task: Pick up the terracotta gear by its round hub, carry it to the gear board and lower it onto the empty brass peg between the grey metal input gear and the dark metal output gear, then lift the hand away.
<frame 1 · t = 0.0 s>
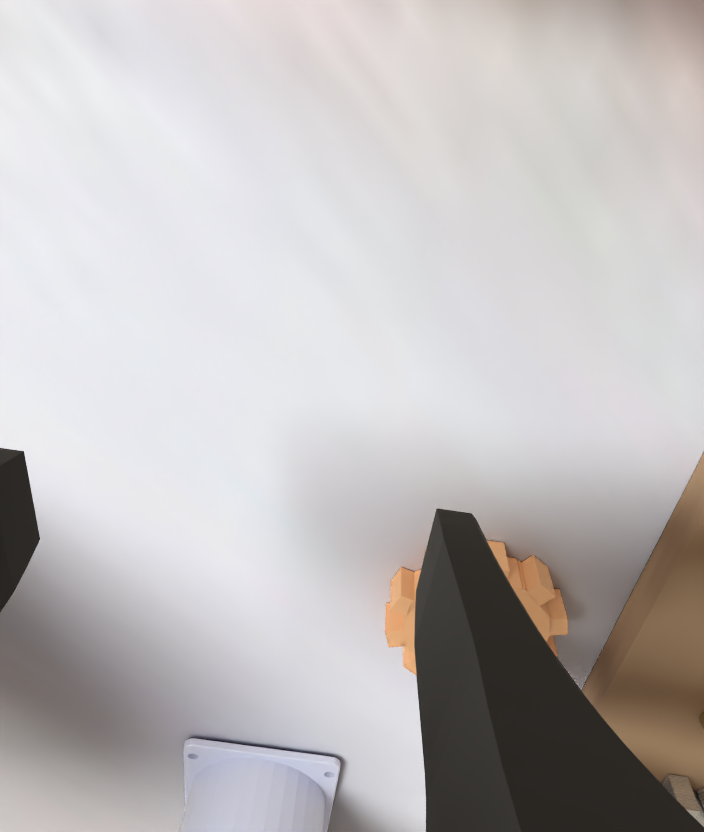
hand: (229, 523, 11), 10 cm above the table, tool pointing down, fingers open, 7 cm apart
loose gear: (471, 603, 26), on the table
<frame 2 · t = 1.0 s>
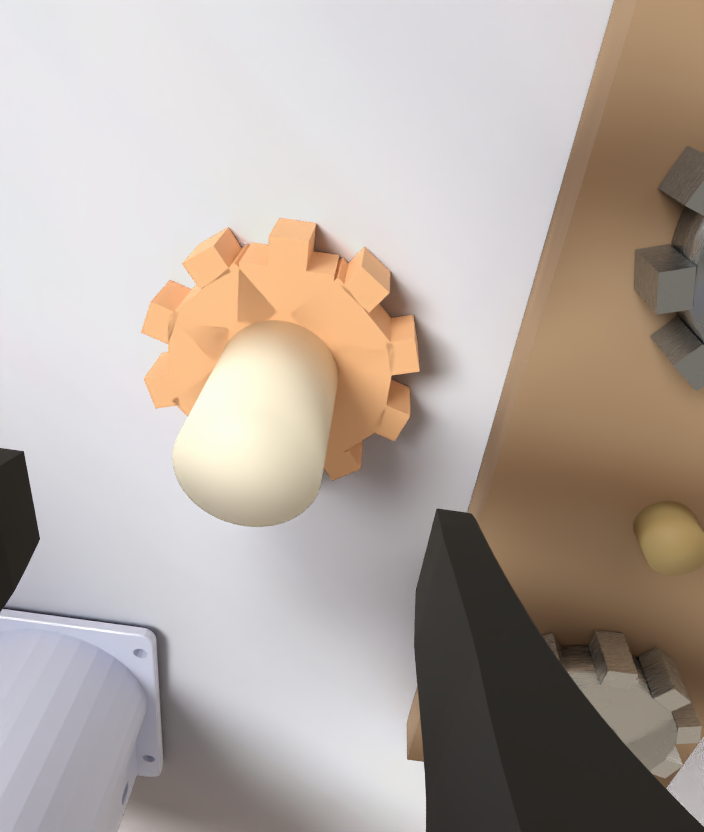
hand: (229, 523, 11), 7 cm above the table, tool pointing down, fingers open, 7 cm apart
gear board: (645, 490, 19), on the table
loose gear: (287, 349, 17), on the table
input gear: (586, 740, 21), point 3 cm above the table, hinge at 0.0°, touching gear board
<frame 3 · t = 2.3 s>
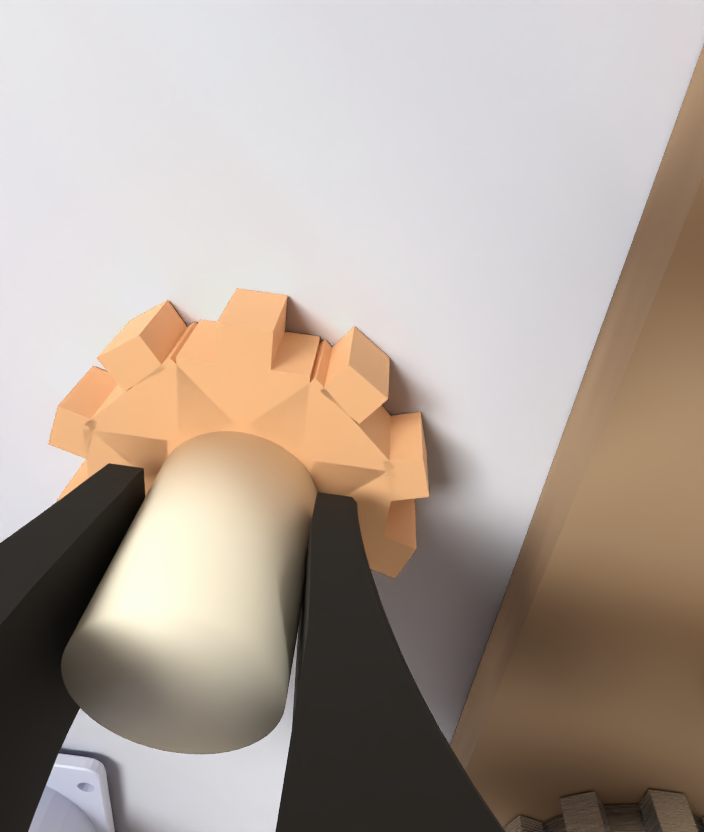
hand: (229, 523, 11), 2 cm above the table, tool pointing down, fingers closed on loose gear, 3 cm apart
loose gear: (253, 452, 13), on the table, touching gripper
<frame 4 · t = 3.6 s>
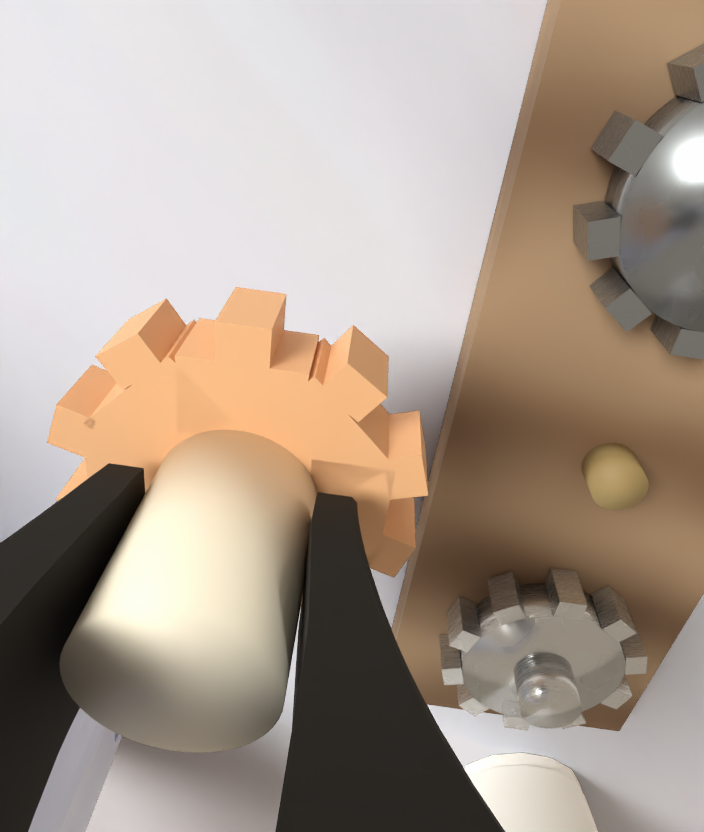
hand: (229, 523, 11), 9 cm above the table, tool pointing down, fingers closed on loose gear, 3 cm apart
foam cup: (514, 784, 32), on the table
gear board: (595, 437, 21), on the table
loose gear: (253, 450, 13), point 7 cm above the table, touching gripper
input gear: (542, 671, 23), point 3 cm above the table, hinge at 0.0°, touching gear board
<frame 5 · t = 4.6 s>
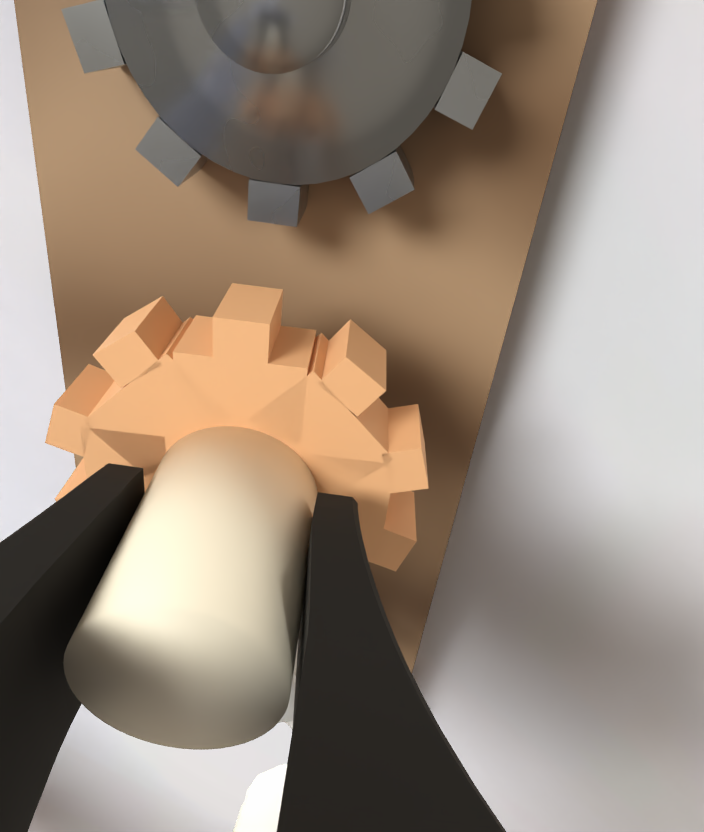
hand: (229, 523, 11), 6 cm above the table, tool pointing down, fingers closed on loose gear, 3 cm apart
foam cup: (319, 798, 28), on the table
gear board: (282, 365, 16), on the table
loose gear: (251, 447, 13), point 4 cm above the table, touching gripper
input gear: (246, 664, 18), point 3 cm above the table, hinge at 0.0°, touching gear board
when the fingers open (4 cm above the table, at t = 5.3 s): loose gear stays where it is, resting on gear board.
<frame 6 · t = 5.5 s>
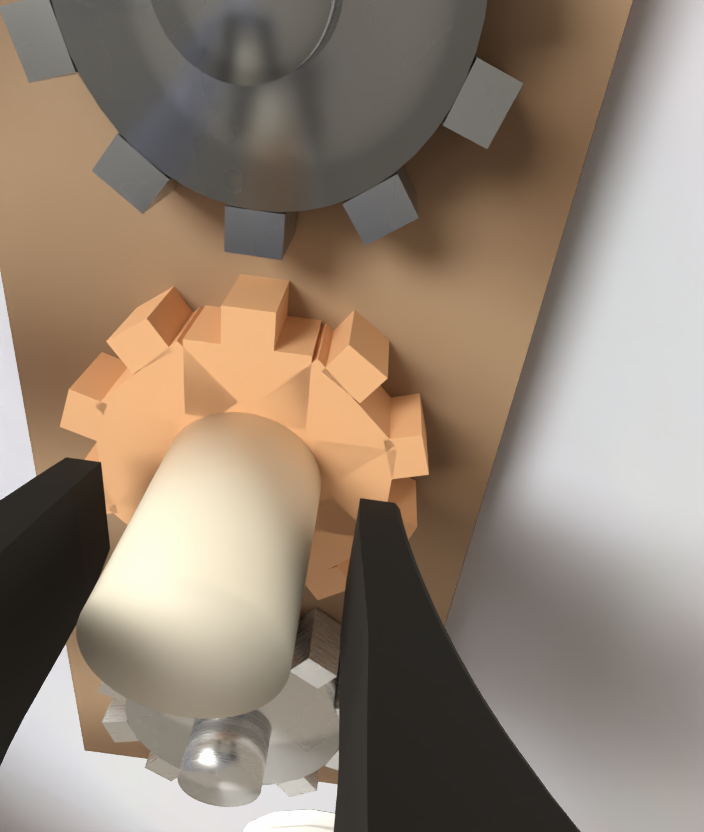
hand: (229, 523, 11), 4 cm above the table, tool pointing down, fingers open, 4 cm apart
gear board: (270, 402, 15), on the table
loose gear: (258, 435, 14), point 1 cm above the table, touching gear board
input gear: (233, 725, 17), point 3 cm above the table, hinge at 0.0°, touching gear board
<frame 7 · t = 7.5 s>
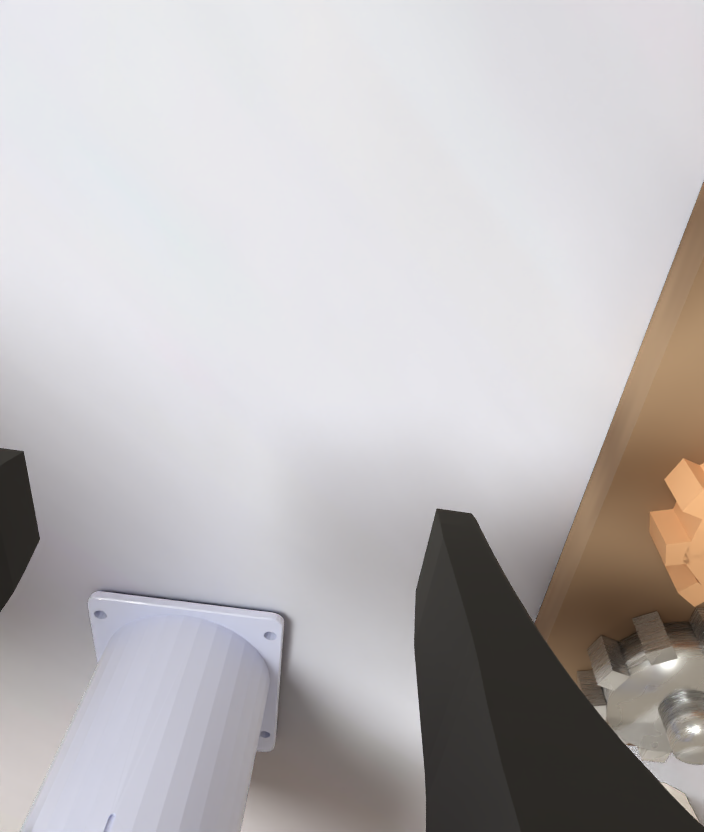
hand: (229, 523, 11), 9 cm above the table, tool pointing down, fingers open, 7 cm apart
foam cup: (624, 808, 33), on the table
input gear: (687, 707, 23), point 3 cm above the table, hinge at 0.0°, touching gear board
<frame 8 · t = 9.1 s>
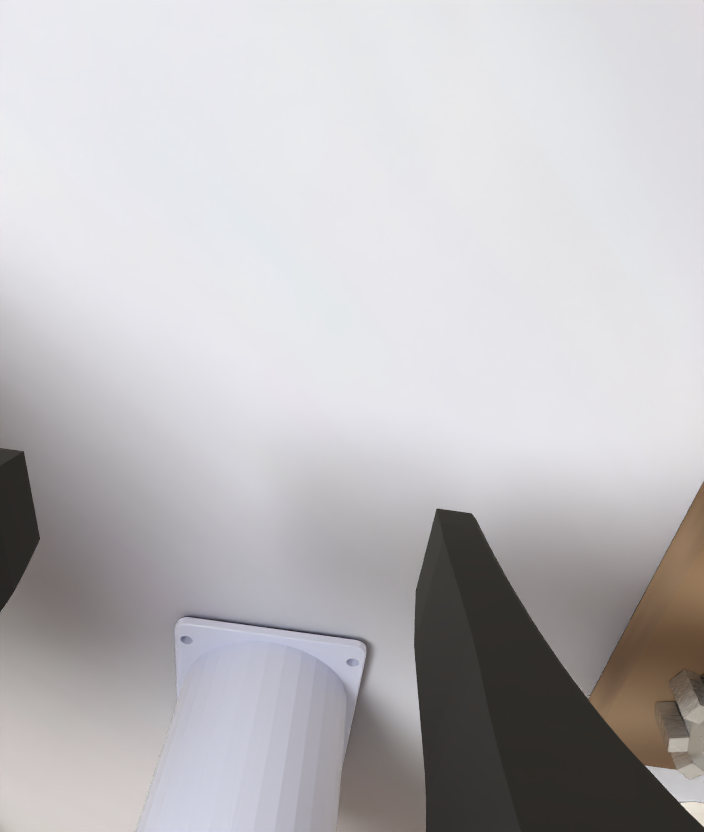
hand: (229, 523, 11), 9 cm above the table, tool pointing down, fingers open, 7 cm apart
foam cup: (677, 829, 34), on the table
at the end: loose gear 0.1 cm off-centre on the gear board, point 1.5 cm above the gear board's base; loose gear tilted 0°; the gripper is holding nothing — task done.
